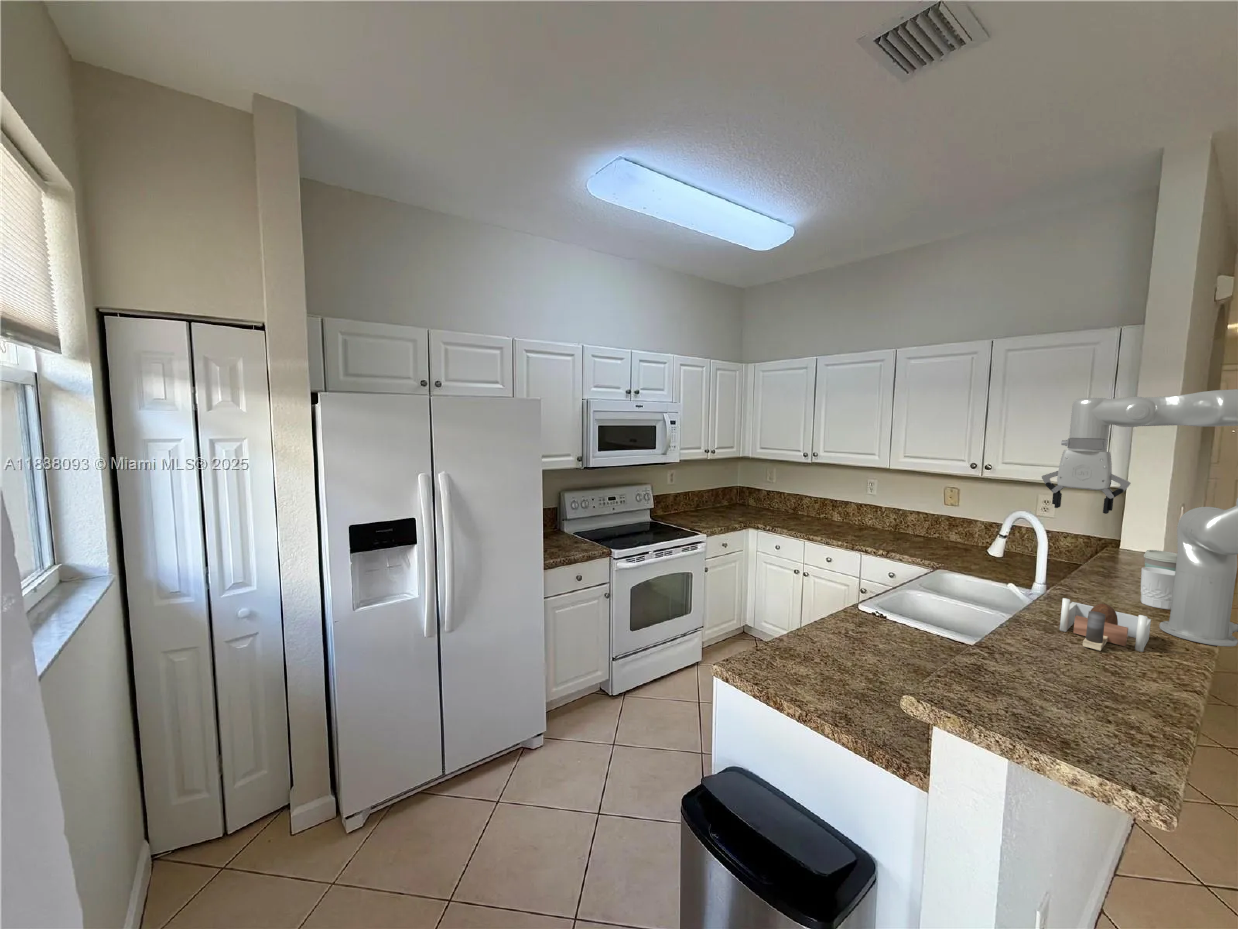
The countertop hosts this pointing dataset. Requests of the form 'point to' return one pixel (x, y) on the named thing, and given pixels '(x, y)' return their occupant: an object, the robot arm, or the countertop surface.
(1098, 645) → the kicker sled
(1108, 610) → the coconut
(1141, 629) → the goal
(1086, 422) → the robot arm
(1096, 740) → the countertop surface
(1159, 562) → the coffee cup
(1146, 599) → the white cup
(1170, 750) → the countertop surface
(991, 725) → the countertop surface
